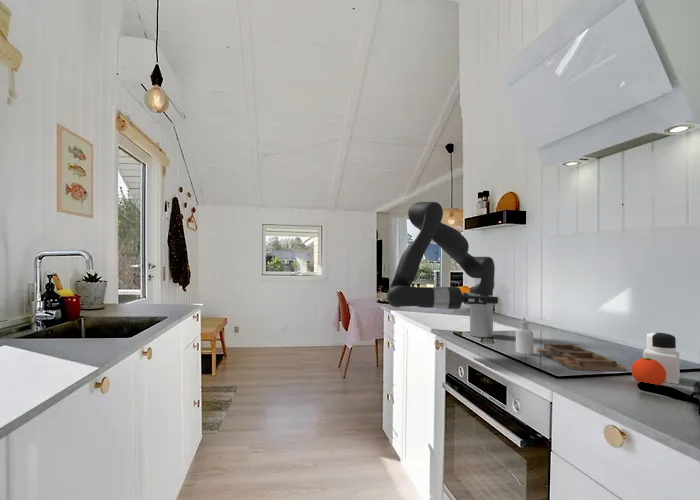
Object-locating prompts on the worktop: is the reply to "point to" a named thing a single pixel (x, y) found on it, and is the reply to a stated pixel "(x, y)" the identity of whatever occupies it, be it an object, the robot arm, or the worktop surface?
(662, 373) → the clementine
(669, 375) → the medicine bottle
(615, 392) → the worktop surface
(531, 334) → the eye dropper bottle
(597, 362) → the wooden compartment tray
